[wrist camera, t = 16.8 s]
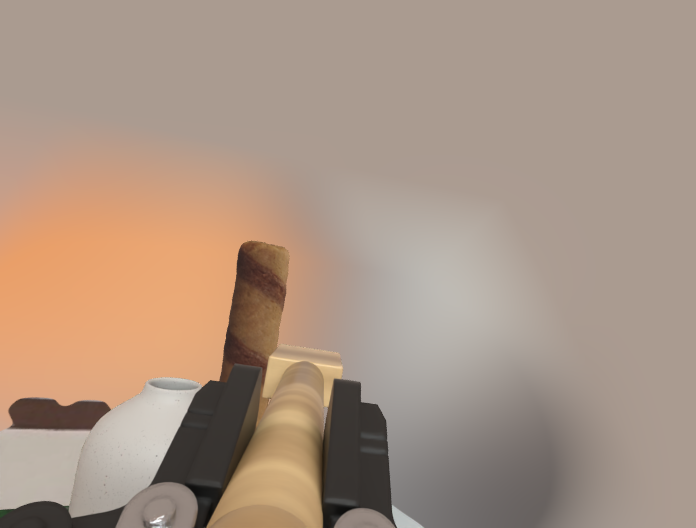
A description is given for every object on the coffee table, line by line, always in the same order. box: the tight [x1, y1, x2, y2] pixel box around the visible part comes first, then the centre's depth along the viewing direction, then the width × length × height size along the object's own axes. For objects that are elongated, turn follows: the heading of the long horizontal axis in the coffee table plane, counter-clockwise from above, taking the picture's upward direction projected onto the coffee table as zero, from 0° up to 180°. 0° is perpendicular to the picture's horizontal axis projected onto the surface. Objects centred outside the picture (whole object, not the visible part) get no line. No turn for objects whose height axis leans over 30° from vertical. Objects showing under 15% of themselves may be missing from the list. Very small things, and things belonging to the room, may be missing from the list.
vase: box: [69, 378, 202, 518], centre depth 51 cm, size 17×17×24 cm
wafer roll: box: [219, 241, 289, 430], centre depth 82 cm, size 10×11×45 cm
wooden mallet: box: [206, 344, 343, 528], centre depth 16 cm, size 20×4×2 cm, turn 3°
